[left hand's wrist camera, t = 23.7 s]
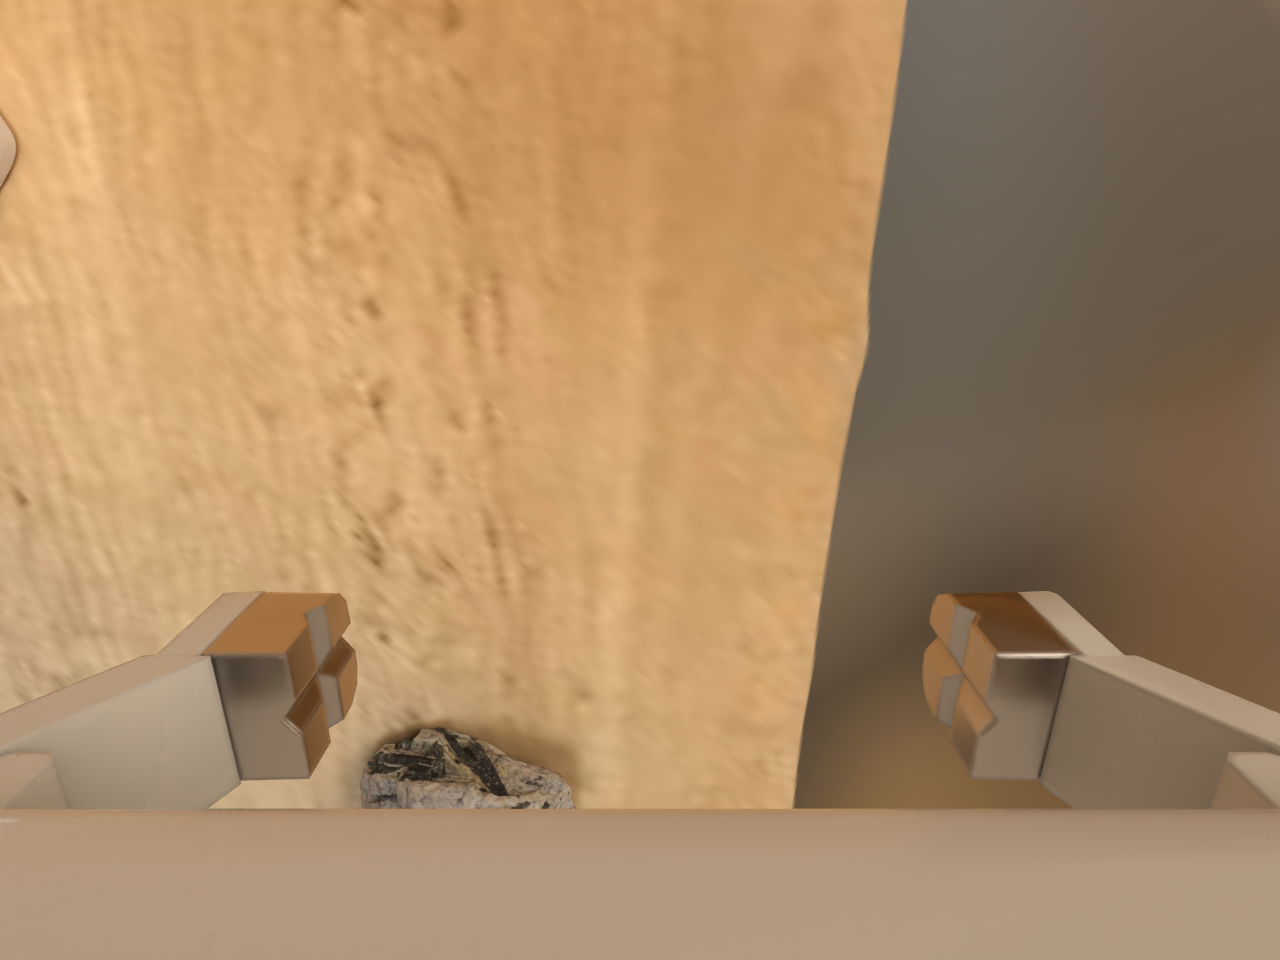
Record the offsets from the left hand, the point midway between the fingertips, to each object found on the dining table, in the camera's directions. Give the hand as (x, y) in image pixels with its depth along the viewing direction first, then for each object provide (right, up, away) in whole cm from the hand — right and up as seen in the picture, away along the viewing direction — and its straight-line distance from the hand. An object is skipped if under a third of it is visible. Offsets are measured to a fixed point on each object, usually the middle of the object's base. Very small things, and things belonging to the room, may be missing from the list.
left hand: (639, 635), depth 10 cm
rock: (-12, -20, +42) cm, 48 cm away
